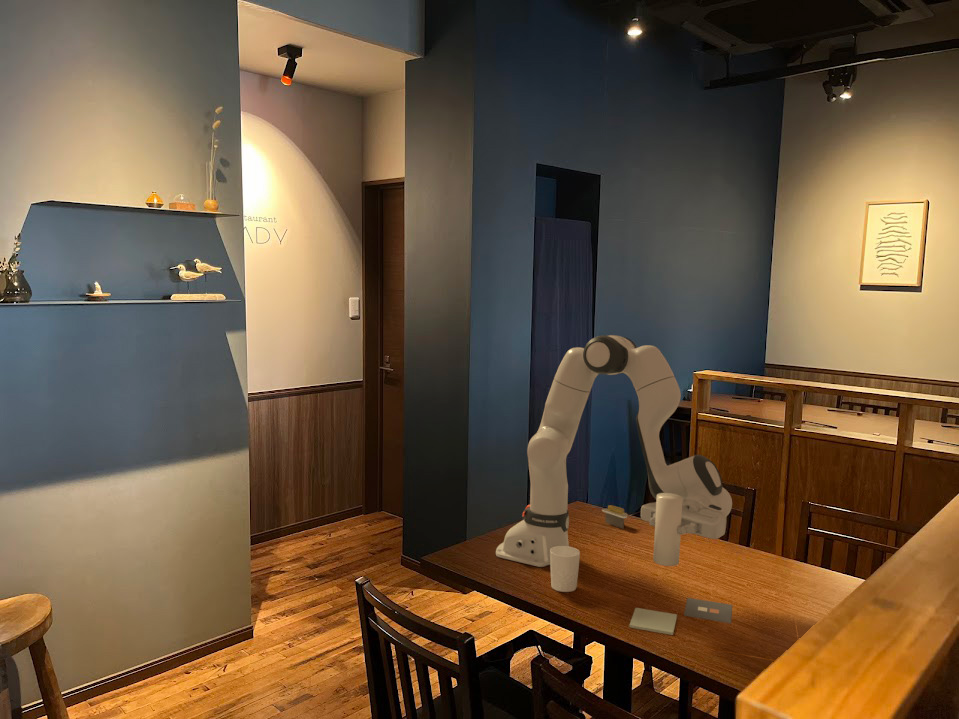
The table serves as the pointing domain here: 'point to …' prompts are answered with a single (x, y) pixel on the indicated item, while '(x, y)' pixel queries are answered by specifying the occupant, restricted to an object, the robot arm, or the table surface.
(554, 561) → the white cup
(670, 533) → the ceramic canister
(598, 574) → the table surface
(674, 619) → the coaster pad
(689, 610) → the mat
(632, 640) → the table surface
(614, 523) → the platform
